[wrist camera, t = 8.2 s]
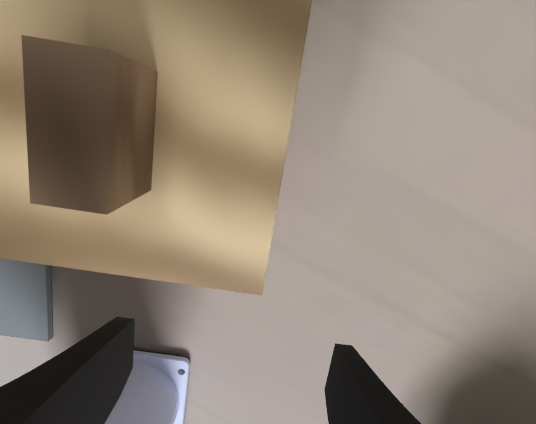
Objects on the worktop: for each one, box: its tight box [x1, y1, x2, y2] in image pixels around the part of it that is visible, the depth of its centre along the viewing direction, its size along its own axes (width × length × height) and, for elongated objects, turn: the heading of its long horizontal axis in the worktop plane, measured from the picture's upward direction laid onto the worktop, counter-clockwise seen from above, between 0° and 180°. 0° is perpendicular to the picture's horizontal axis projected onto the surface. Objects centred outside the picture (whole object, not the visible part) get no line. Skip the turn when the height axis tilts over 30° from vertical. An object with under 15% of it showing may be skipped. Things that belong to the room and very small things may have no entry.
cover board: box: [0, 0, 312, 295], centre depth 12 cm, size 14×14×5 cm
